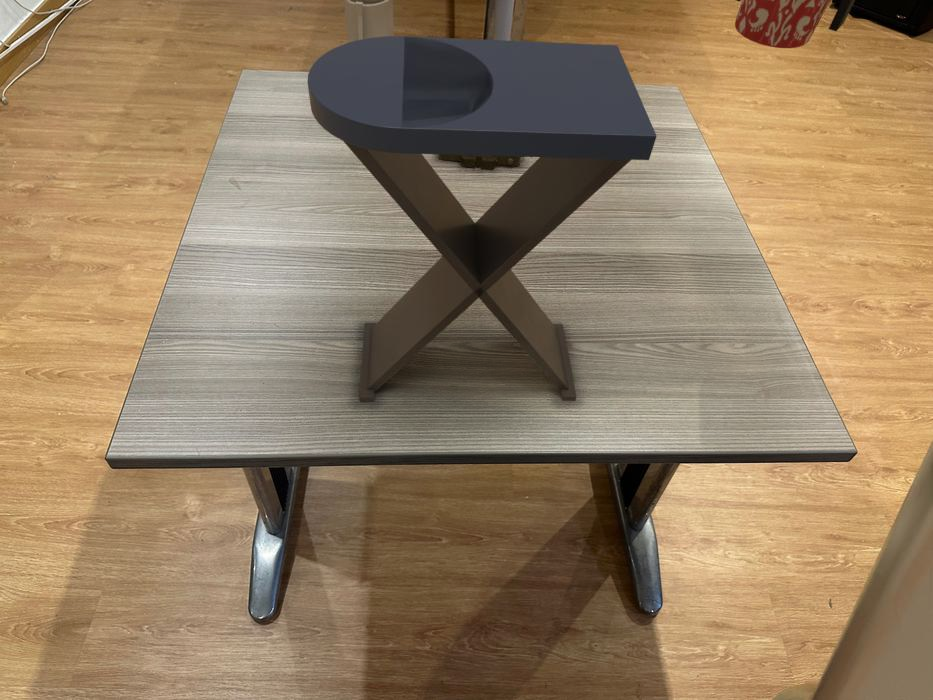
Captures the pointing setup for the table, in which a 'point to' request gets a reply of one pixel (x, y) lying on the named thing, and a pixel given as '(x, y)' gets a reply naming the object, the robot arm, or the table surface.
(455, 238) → the x-leg side table
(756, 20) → the mug
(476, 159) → the landmine
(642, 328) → the table surface
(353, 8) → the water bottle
